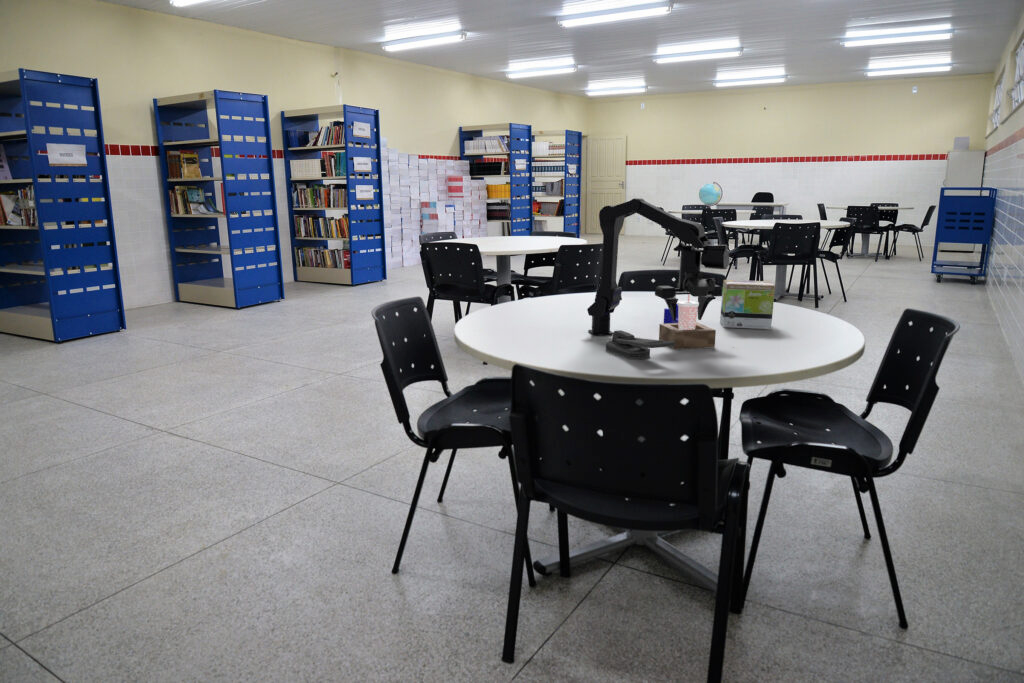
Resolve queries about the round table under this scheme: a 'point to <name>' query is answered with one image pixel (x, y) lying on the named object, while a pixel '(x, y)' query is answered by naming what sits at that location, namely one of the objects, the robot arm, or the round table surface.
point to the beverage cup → (687, 314)
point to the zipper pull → (633, 345)
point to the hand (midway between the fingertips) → (686, 320)
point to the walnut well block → (688, 336)
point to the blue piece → (668, 316)
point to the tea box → (747, 304)
